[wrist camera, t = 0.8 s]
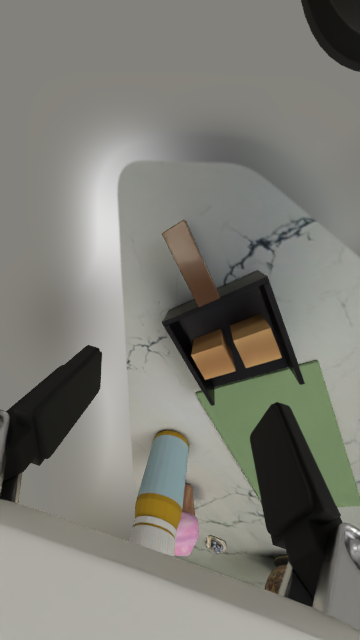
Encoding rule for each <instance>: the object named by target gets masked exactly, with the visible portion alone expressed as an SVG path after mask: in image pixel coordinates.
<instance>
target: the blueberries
mask: <svg viewBox="0 0 360 640" xmlns="http://www.w3.org/2000/svg"><path fill="white" fill-rule="evenodd" d="M207 541H208V543H207V542H206V543H207V544H206V547H207V548H208V549H212V550H213V551H214V552H216V553H217V554H218V553H220V552H224V553H225V551H226V544H225V542H224V541H222V540H219V539H217V538H216V537H213V536H208V537H207Z"/></svg>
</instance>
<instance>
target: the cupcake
mask: <svg viewBox="0 0 360 640" xmlns="http://www.w3.org/2000/svg"><path fill="white" fill-rule="evenodd" d="M176 532H177V534H176V540H175V552H174V554H175V555H181V556H188V555H189V554H190V553H191V551H192V549H193V547H194V545H195V543H196V542H197V540H198V536H199V524H198V520H197V518H196V516H195V511H194V502H193V490H192V487H191V486H190V485H189V484H185V488H184V498H183V507H182V515H181V520H180V522H179V525H178V528H177V531H176Z"/></svg>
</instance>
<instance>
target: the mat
mask: <svg viewBox="0 0 360 640" xmlns="http://www.w3.org/2000/svg"><path fill="white" fill-rule="evenodd" d="M299 368H300V371H301V373H302V376H303V379H304V382H305V384H303V385H299V383H298V381H297V380H296V378H295V376H294V375H293V373H292V372H291V370H290V368H289V367H288V368H285V369H281V370H277V371H274V372H270V373H266V374H262V375H259V376H255V377H251V378H248V379H244V380H240V381H236V382H233V383H229V384H225V385H221V386H218V387H214V391H215V405H213V406H211V405H210V403H209V402H208V400H207V398H206V396H205V395H204V393H203V391H199V392H196V395H197V397H198V399H199V400H200V402H201V404H202V405H203V407H204V409H205V410H206V412H207V413H208V415H209V417H210V418H211V420H212V422H213V423H214V425H215V427H216V428H217V430H218V431H219V433H220V435H221V436H222V438H223V440H224V441H225V443H226V445H227V446H228V448H229V449H230V451H231V453H232V454H233V456H234V458H235V459H236V461H237V462H238V464H239V466H240V467H241V469H242V471H243V472H244V474H245V476H246V477H247V479H248V480H249V482H250V484H251V485H252V487H253V489H254V490H255V492H256V494H257V495H258V497H259V498H260V500H261V496H260V491H259V486H258V481H257V475H256V470H255V465H254V459H253V454H252V449H251V443H250V435H251V433H252V431H253V430H254V429H255V427H256V426H257V424H258V423H259V421H260V420H261V418H262V417H263V415H264V414H265V413H266V411H267V410H268V408H269V407H270V405H271V404H274V403H276V402H279V403H282V404H285V405H288V406H290V408H291V410H292V412H293V414H294V416H295V418H296V420H297V422H298V425H299V427H300V429H301V431H302V433H303V435H304V438H305V440H306V442H307V444H308V446H309V448H310V450H311V453H312V455H313V457H314V459H315V461H316V463H317V466H318V468H319V470H320V472H321V474H322V476H323V478H324V481H325V483H326V485H327V487H328V489H329V491H330V493H331V496H332V498H333V500H334V502H335V504H336V506H337V507H345V506H360V496H359V493H358V490H357V486H356V483H355V480H354V477H353V473H352V470H351V467H350V464H349V460H348V457H347V454H346V450H345V447H344V444H343V441H342V437H341V434H340V431H339V427H338V424H337V421H336V418H335V414H334V411H333V408H332V404H331V401H330V398H329V395H328V391H327V388H326V385H325V382H324V378H323V375H322V372H321V368H320V365H319V362H318V361H317V360H314V361H311V362H307V363H303V364H300V365H299Z"/></svg>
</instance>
